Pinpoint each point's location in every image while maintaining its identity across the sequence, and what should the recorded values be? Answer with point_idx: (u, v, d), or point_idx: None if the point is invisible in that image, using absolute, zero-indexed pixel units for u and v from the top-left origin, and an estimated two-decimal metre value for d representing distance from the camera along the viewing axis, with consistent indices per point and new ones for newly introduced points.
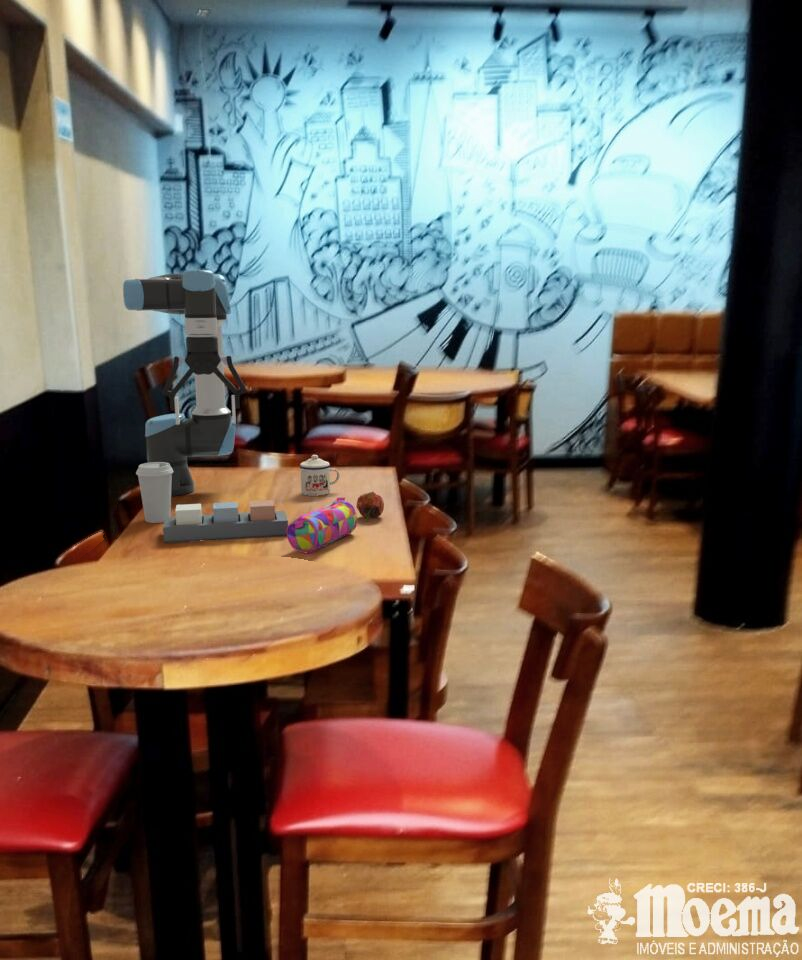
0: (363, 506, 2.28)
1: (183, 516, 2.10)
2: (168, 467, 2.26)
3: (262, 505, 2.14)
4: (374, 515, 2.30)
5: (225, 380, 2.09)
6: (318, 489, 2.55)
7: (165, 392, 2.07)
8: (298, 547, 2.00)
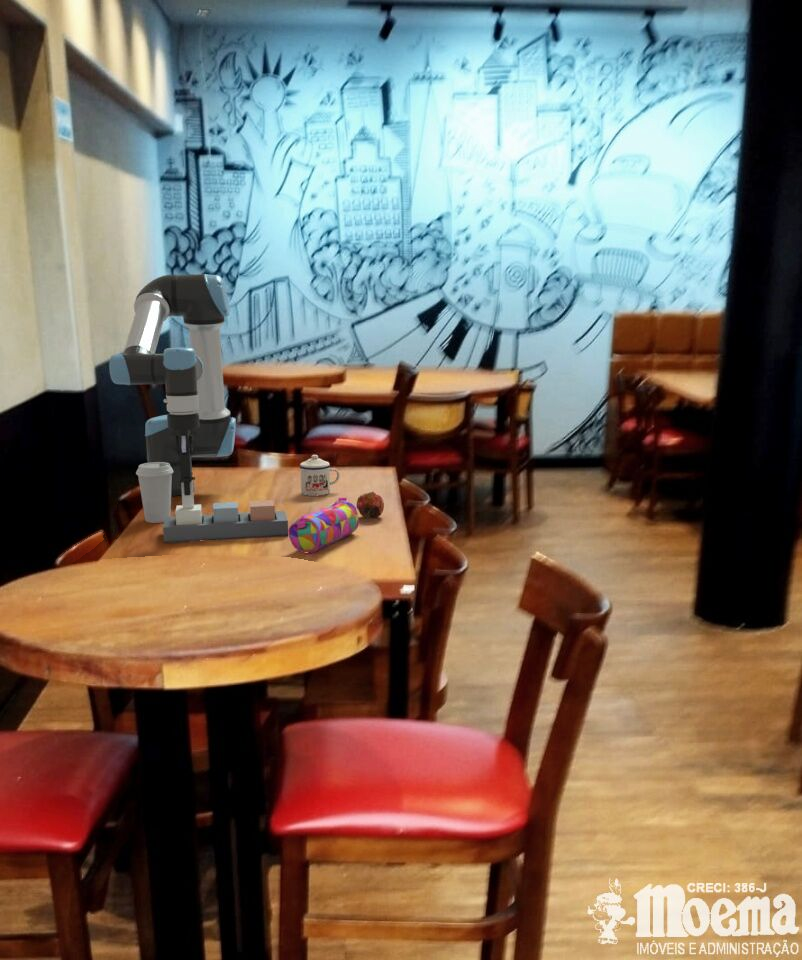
0: (363, 506, 2.28)
1: (183, 516, 2.10)
2: (168, 467, 2.26)
3: (262, 505, 2.14)
4: (374, 515, 2.30)
5: None
6: (318, 489, 2.55)
7: None
8: (300, 547, 2.00)
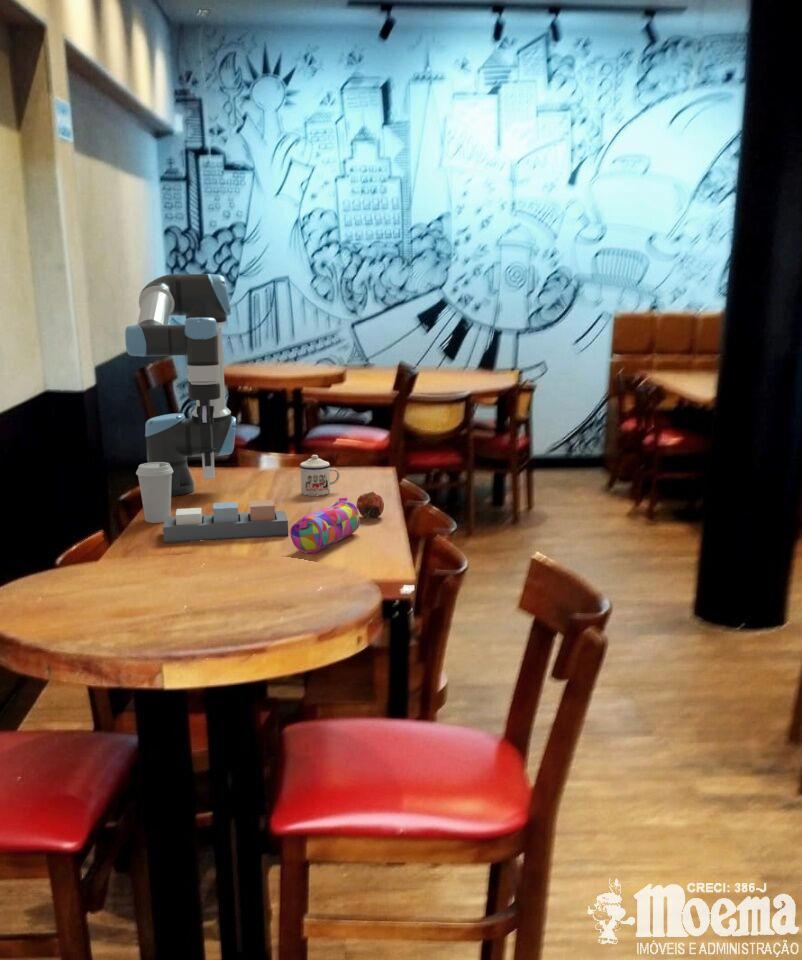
0: (363, 506, 2.28)
1: (183, 520, 2.10)
2: (168, 467, 2.26)
3: (262, 505, 2.14)
4: (374, 515, 2.30)
5: None
6: (318, 489, 2.55)
7: None
8: (302, 547, 2.00)
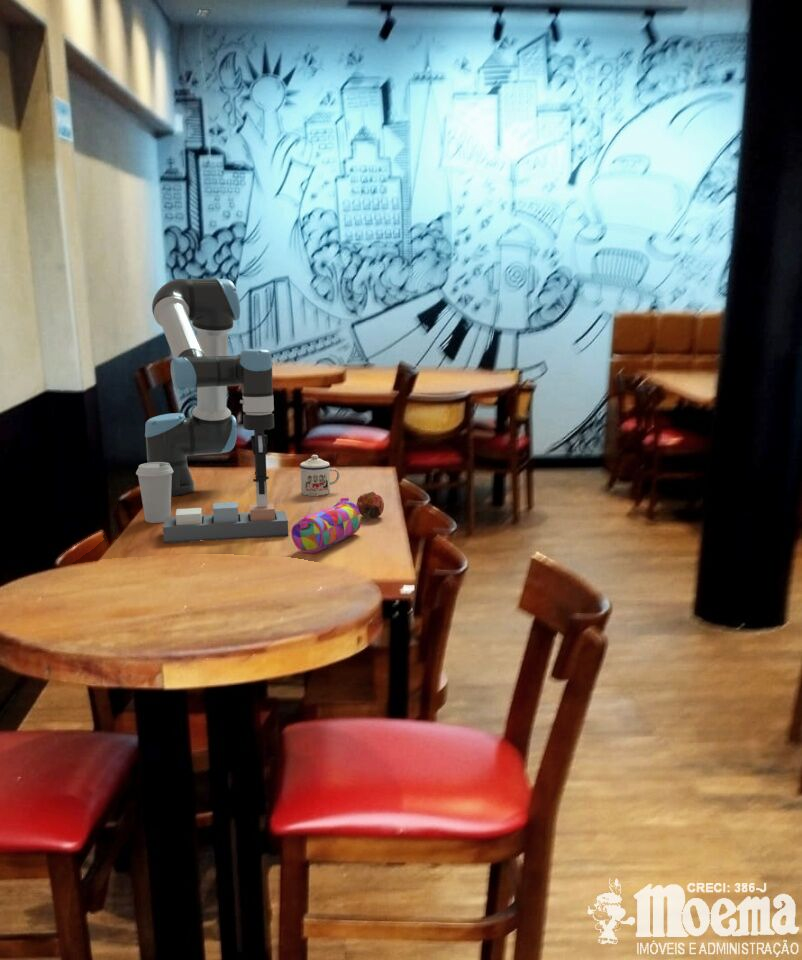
0: (363, 506, 2.28)
1: (183, 520, 2.10)
2: (168, 467, 2.26)
3: (262, 508, 2.14)
4: (374, 515, 2.30)
5: None
6: (318, 489, 2.55)
7: (255, 472, 2.17)
8: (303, 548, 2.00)
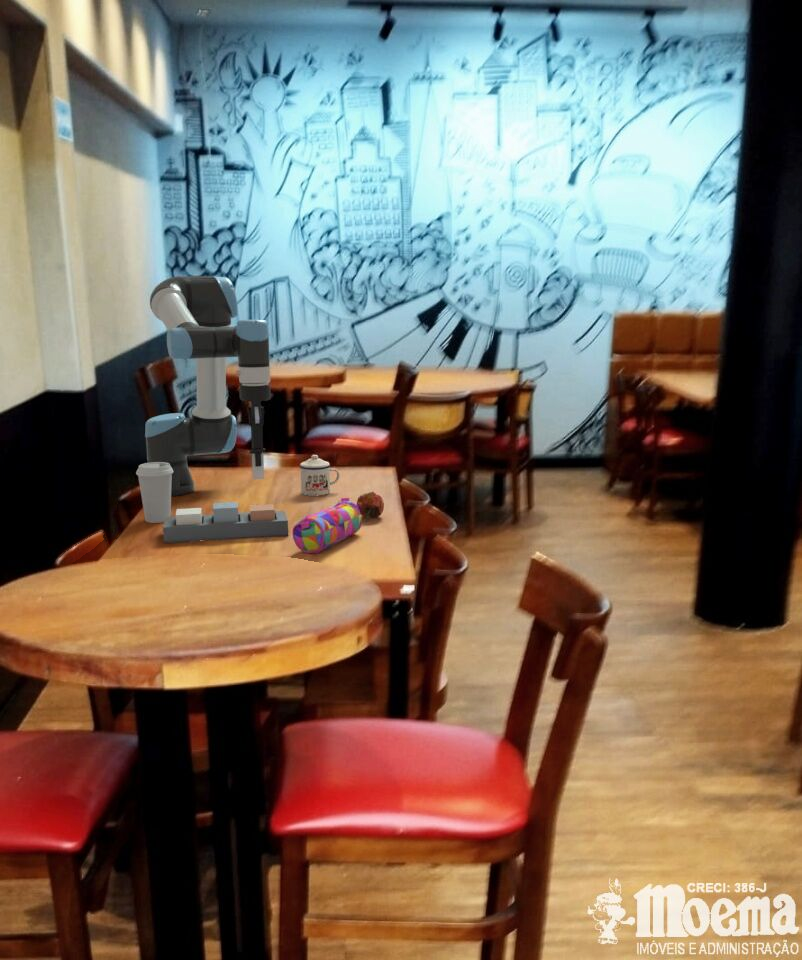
0: (363, 506, 2.28)
1: (183, 520, 2.10)
2: (168, 467, 2.26)
3: (262, 509, 2.14)
4: (374, 515, 2.30)
5: (252, 434, 2.10)
6: (318, 489, 2.55)
7: None
8: (304, 548, 1.99)
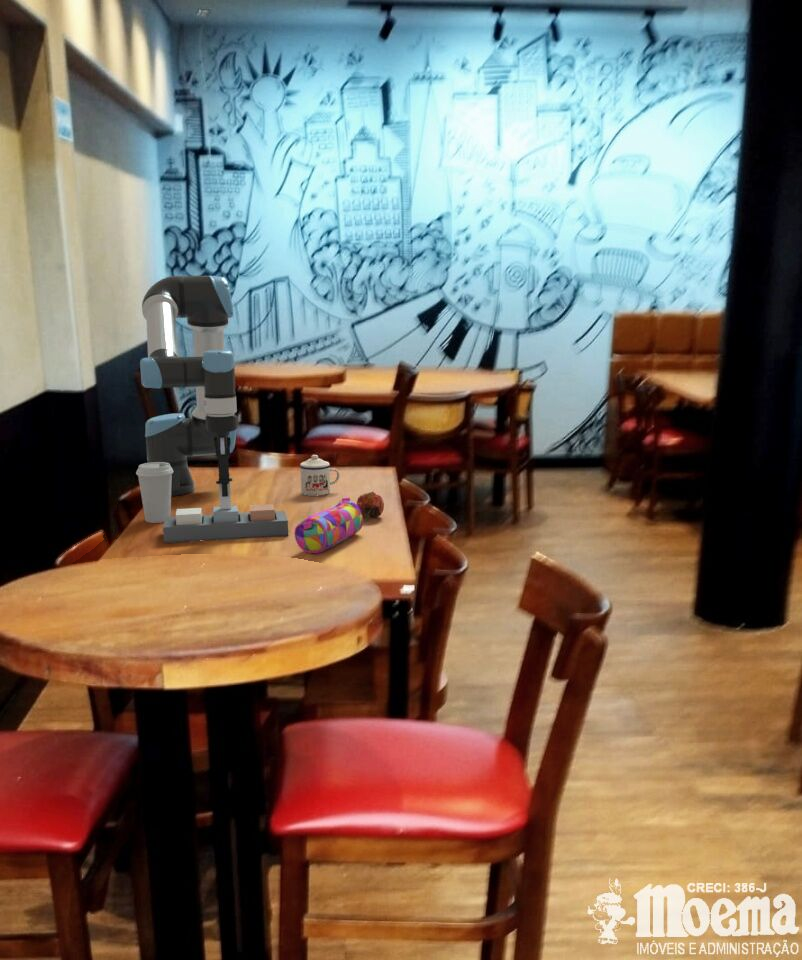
0: (363, 506, 2.28)
1: (183, 520, 2.10)
2: (168, 467, 2.26)
3: (262, 509, 2.14)
4: (374, 515, 2.30)
5: None
6: (318, 489, 2.55)
7: None
8: (306, 548, 1.99)
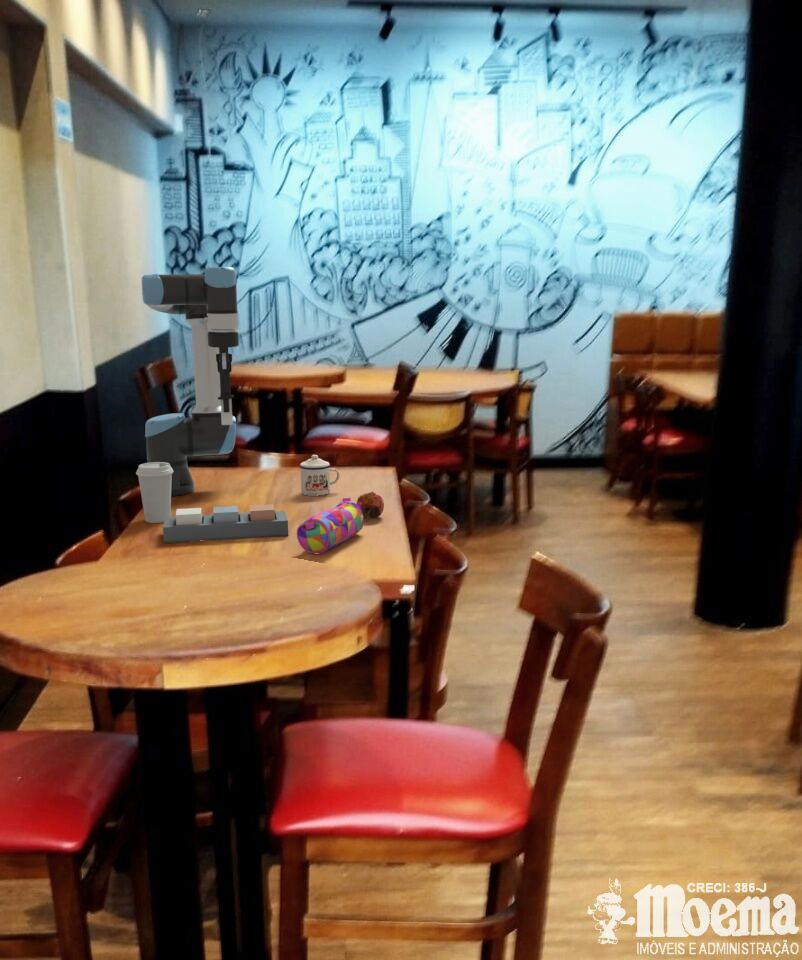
0: (363, 506, 2.28)
1: (183, 520, 2.10)
2: (168, 467, 2.26)
3: (262, 509, 2.14)
4: (374, 515, 2.30)
5: None
6: (318, 489, 2.55)
7: (220, 391, 2.19)
8: (309, 548, 1.99)
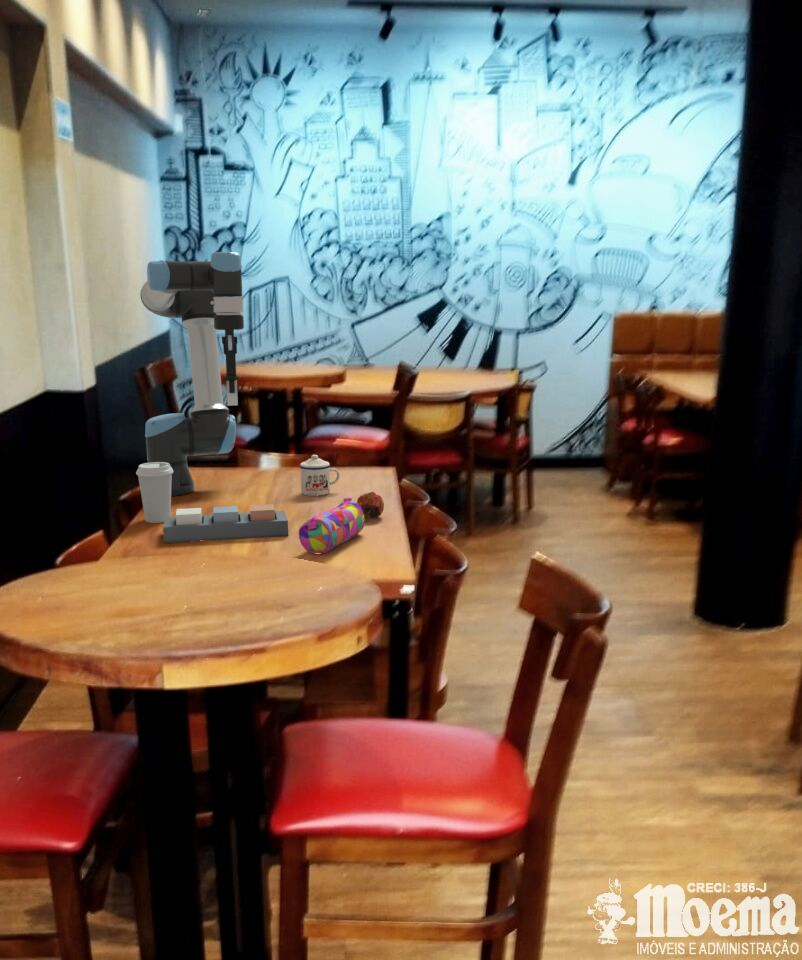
0: (363, 506, 2.28)
1: (183, 520, 2.10)
2: (168, 467, 2.26)
3: (262, 509, 2.14)
4: (374, 515, 2.30)
5: None
6: (318, 489, 2.55)
7: (226, 373, 2.27)
8: (311, 549, 1.99)
